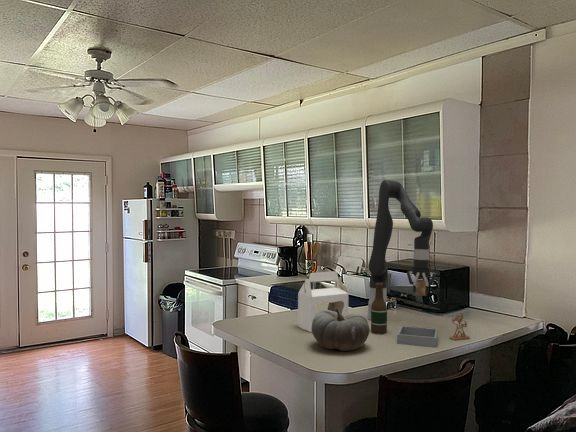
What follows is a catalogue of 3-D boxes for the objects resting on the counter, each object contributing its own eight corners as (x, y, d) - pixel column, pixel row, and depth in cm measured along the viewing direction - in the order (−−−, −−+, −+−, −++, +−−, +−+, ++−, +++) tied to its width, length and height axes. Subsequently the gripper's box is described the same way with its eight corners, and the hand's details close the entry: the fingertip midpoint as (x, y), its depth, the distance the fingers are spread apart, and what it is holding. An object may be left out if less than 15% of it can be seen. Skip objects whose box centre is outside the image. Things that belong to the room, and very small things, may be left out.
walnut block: (415, 295, 239) (415, 280, 239) (416, 293, 243) (416, 279, 243) (425, 296, 237) (425, 281, 237) (425, 294, 242) (426, 280, 241)
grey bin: (397, 343, 220) (397, 334, 220) (401, 334, 236) (401, 325, 236) (435, 347, 215) (436, 338, 215) (437, 337, 231) (437, 329, 231)
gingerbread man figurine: (464, 336, 232) (464, 311, 232) (469, 338, 229) (470, 313, 229) (448, 338, 229) (449, 312, 229) (454, 340, 226) (455, 314, 225)
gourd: (306, 332, 227) (313, 296, 225) (358, 341, 229) (366, 305, 227) (311, 354, 202) (319, 314, 200) (370, 363, 204) (378, 324, 202)
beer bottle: (387, 331, 242) (388, 282, 241) (385, 335, 234) (386, 284, 234) (372, 329, 244) (372, 281, 244) (369, 333, 237) (370, 283, 236)
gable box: (334, 322, 260) (334, 269, 259) (348, 327, 248) (349, 272, 247) (297, 326, 249) (297, 271, 248) (310, 332, 237) (311, 275, 237)
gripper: (405, 258, 239) (405, 293, 239) (436, 259, 234) (435, 295, 234) (407, 256, 246) (406, 291, 246) (437, 258, 241) (436, 293, 241)
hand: (420, 293), depth 240 cm, fingers closed on walnut block, 4 cm apart
